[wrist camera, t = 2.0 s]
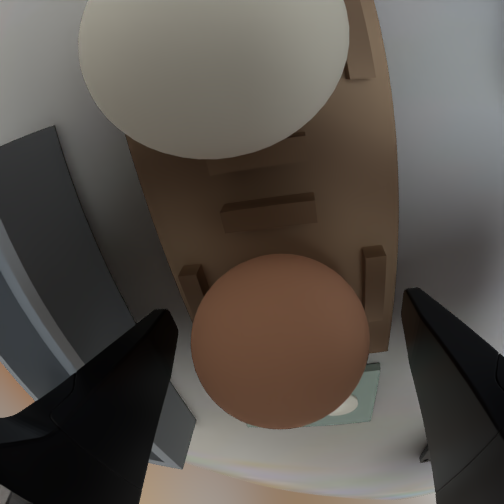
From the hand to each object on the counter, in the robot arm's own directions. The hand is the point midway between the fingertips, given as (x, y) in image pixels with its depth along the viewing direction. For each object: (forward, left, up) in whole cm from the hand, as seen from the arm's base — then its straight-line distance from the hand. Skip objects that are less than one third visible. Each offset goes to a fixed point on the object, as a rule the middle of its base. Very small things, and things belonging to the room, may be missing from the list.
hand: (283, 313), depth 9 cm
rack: (+4, 0, -2) cm, 4 cm away
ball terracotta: (0, 0, -1) cm, 1 cm away
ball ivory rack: (+7, 0, -1) cm, 7 cm away
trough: (-2, +11, -2) cm, 11 cm away
